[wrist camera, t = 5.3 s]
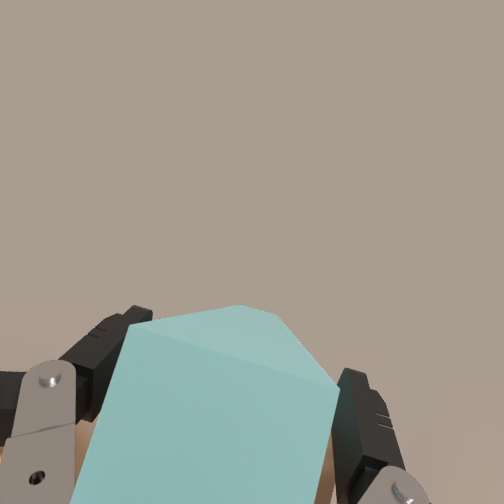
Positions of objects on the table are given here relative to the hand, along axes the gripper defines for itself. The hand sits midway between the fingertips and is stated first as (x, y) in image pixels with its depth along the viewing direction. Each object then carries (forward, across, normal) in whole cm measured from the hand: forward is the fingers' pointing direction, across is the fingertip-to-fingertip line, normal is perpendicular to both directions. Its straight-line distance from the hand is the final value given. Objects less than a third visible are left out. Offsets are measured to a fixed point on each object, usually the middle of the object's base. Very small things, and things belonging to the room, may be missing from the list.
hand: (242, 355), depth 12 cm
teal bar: (+5, 0, -6) cm, 8 cm away
